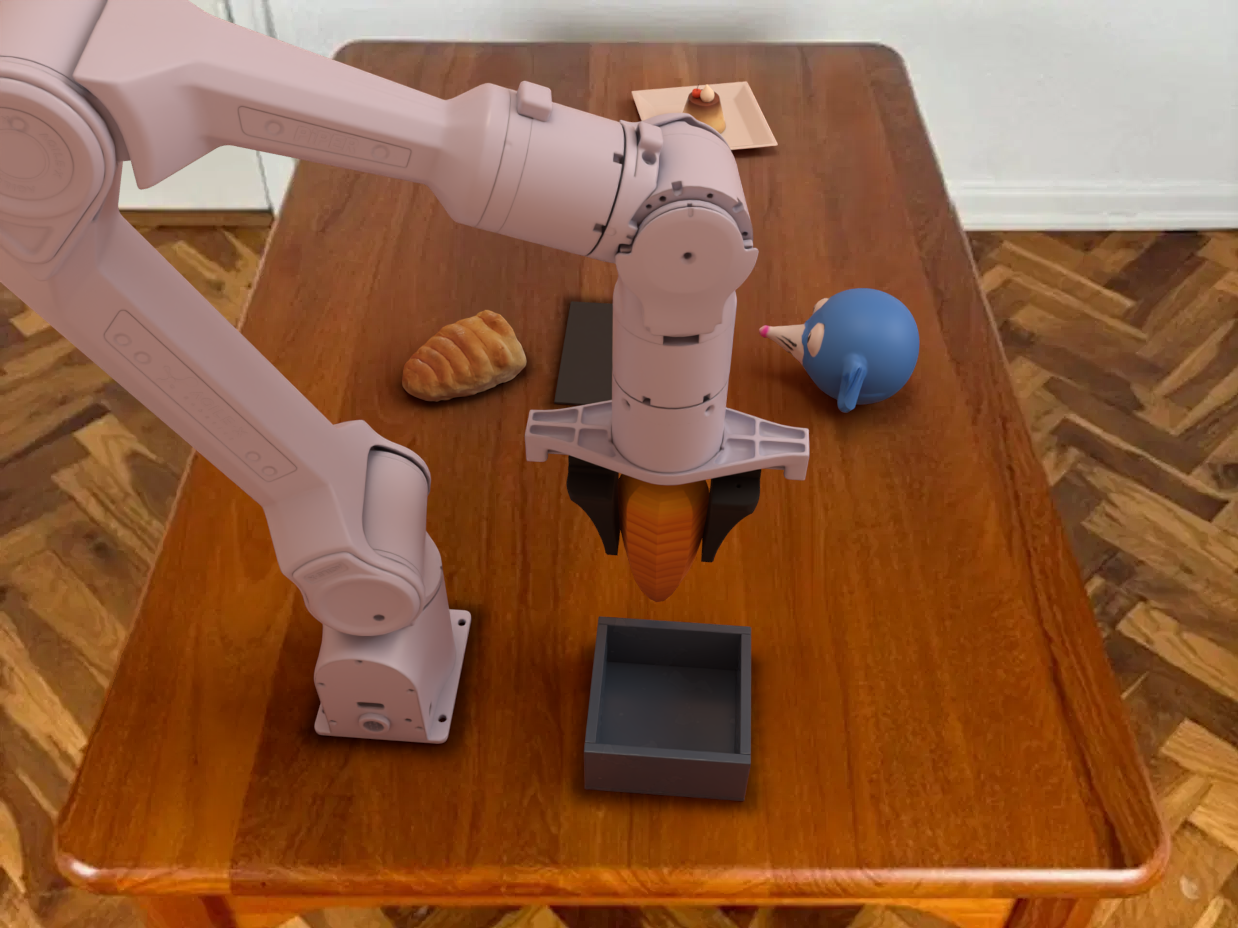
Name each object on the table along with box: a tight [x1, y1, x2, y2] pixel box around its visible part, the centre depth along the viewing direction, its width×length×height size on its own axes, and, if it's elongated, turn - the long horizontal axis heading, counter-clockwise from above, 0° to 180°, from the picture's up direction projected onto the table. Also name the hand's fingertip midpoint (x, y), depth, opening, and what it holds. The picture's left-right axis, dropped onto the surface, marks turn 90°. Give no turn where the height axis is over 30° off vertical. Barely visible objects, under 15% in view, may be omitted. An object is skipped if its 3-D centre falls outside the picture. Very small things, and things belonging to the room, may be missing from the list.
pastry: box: [401, 309, 527, 403], centre depth 92 cm, size 9×7×4 cm
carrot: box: [618, 473, 710, 603], centre depth 66 cm, size 5×5×15 cm
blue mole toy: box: [758, 287, 920, 414], centre depth 89 cm, size 12×12×8 cm
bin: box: [583, 615, 752, 802], centre depth 70 cm, size 9×9×4 cm
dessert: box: [631, 80, 779, 152], centre depth 116 cm, size 12×12×5 cm
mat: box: [553, 300, 613, 406], centre depth 94 cm, size 12×10×1 cm
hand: (661, 545), depth 68 cm, fingers closed on carrot, 5 cm apart
